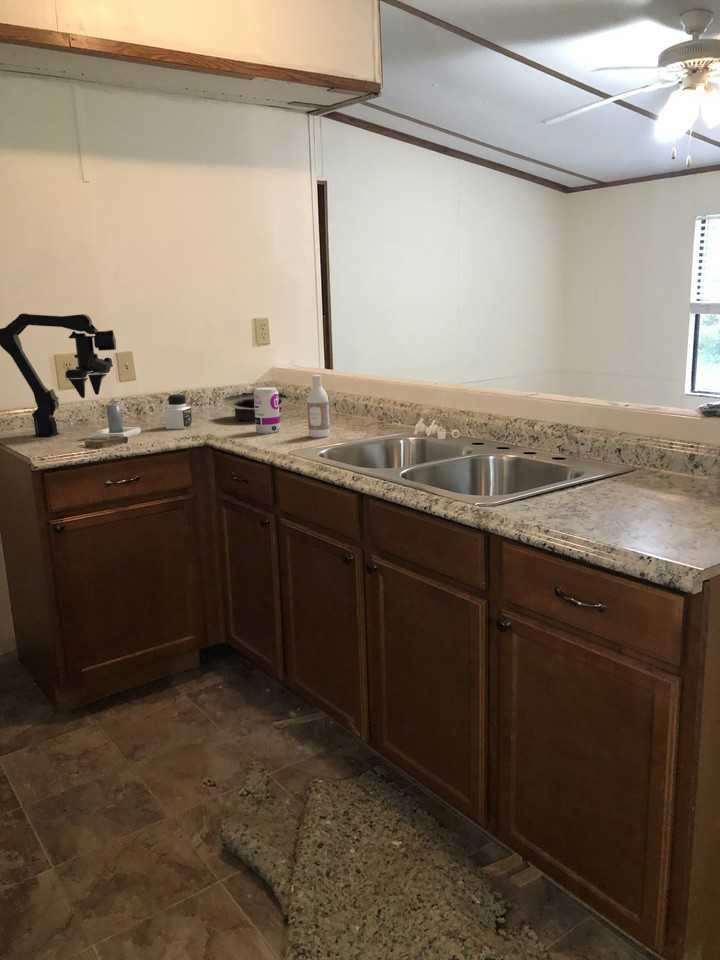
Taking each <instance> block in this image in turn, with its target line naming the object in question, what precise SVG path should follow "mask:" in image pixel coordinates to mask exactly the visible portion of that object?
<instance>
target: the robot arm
mask: <svg viewBox="0 0 720 960" xmlns="http://www.w3.org/2000/svg"><path fill="white" fill-rule="evenodd" d="M28 326H35V327H36V326H39V327H55V328H57V327H58V328H63V329H67V330H71V331H72V332H71V334H70V335H69V336H68V339H74V341H75V350H76V354H74V359H77V360H76V361H77V366H75V368H71V369H67V370H66V371H65V373H64V374H65V379H68V381H69V382H70V383H71V384H72V386H73V387H74V388H75V390H76V392H77V393H78V395H79V396H80V398H81V399H85V397H86V385H85V384H86V381H87V380H88V379H89V381H90V384H91V387H92V390H93V392H94V395H97V396H98V395H99V394H100V389H101V384H102V381H103V379H104V378H105V377H107V375H108V373H110V372H111V368H113V367H114V365H113V360H112V358H111V357H105V358H104V359H103V358H99V355H98V354H97V353H95V349H94V348H96V349H97V350H98V352H99V351H100V352H101V351H117V341H116V340H117V339H116V337H115V333H114V330H113V329H112V330H111V329H109V330H101V331H100V330H98V329H97V328H96V327H95V326H94V325H93V320H92V318H91V317H90V316H89V315H87V314H83V313H82V314H72V315H64V316H63V315H46V314H32V313H30V314H29V313H25V312H24V313H20V314H19V315H18V316H17V317H16V318H15V319H14V320H11V322H10V323H8V324H7V325H6V326H5V327H2V328H0V347H1V348H2V349H3V350H4V351H5V352H6V353H7V354H8V355H9V356H10V357H11V358H12V360H13V362H14V363H15V364H16V366H17V369H18V370H19V372H20V373H21V375H22V376H23V378H24V380H25V381H26V383H27V385H28V386H29V388H30V389H31V391H32V394H33V396H34V401H35V404H36V407H37V408H36V409H35V410H34V412H32V414H31V416H32V417H33V423H34V432H35V434H33V435H32V437H35V436H44V437H43V438H45V436H49V437H52V435H53V436H56V435H58V434H60V432H59V431H58V427H57V426H58V424H57V421H56V417H54V414H55V412H56V411H57V410H58V409H59V406H60V403H59V400H60V398H59V397H58V396H57V395H56V392H55V390H54V389H53V388H51V389H48V388H47V387H46V386H45V385H44V383H43V382H42V380H41V378H40V376H39V375H38V373H37V372H36V369H35V368H34V366H33V365H32V363H31V361H30V360H29V358H28V357H27V355H26V354H25V352H24V350H23V346H22V342H21V339H20V337H19V335H20V334H21V333H22V332H23V331H24V330H25V329H27V327H28ZM76 331H77V332H76ZM78 332H81V333H78ZM87 334H88V335H87ZM87 376H88V377H87Z"/></svg>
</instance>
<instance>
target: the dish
mask: <svg viewBox="0 0 720 960" xmlns="http://www.w3.org/2000/svg"><path fill="white" fill-rule="evenodd" d="M123 431H125V432H123V433H108V432H109V427H105V428H103V429H100V430H97V431H94V432H91V433H90V436H91V439H90V440H108V439H110V435H119V436H126V437H128V439H130V438H132V437H135V436H137V435H140V434H142V432H141V431H142V430H141V427H123ZM129 437H130V438H129Z"/></svg>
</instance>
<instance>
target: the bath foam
mask: <svg viewBox="0 0 720 960" xmlns="http://www.w3.org/2000/svg"><path fill="white" fill-rule="evenodd" d="M311 377H312V387H311V389H310V391H309V393H308V395H307V400H306V403H307V406H306V407H307V425H308V430H307V431H308V436H309V437H310V438H317V439H320V438H321V439H322V438H326V437H329V436H330V409H329V408H330V407H329V406H330V404H329V403H330V402H329V398H328V397H329V396H328V394H327V392H326V390H325V389H324V388H323V386H322V385H323V384H322V383H323V382H322V375H321V374H312V376H311Z"/></svg>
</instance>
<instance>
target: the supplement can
mask: <svg viewBox="0 0 720 960" xmlns="http://www.w3.org/2000/svg"><path fill="white" fill-rule="evenodd" d="M253 392H254V405H255V421H254V422H255V431H256V432H257V433H258V434H262V433H264V434H265V435H266V434H267V435H269V434H268V433H270V434H275V433H276V434H277V433H279V431H280V430H281V424H280V423H281V422H280V413H279V399H278V393H279V391H278V389H277V387H273V386H265V387H264V386H262V387H261V386H260V387H256V388H255V389H254V391H253Z"/></svg>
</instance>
